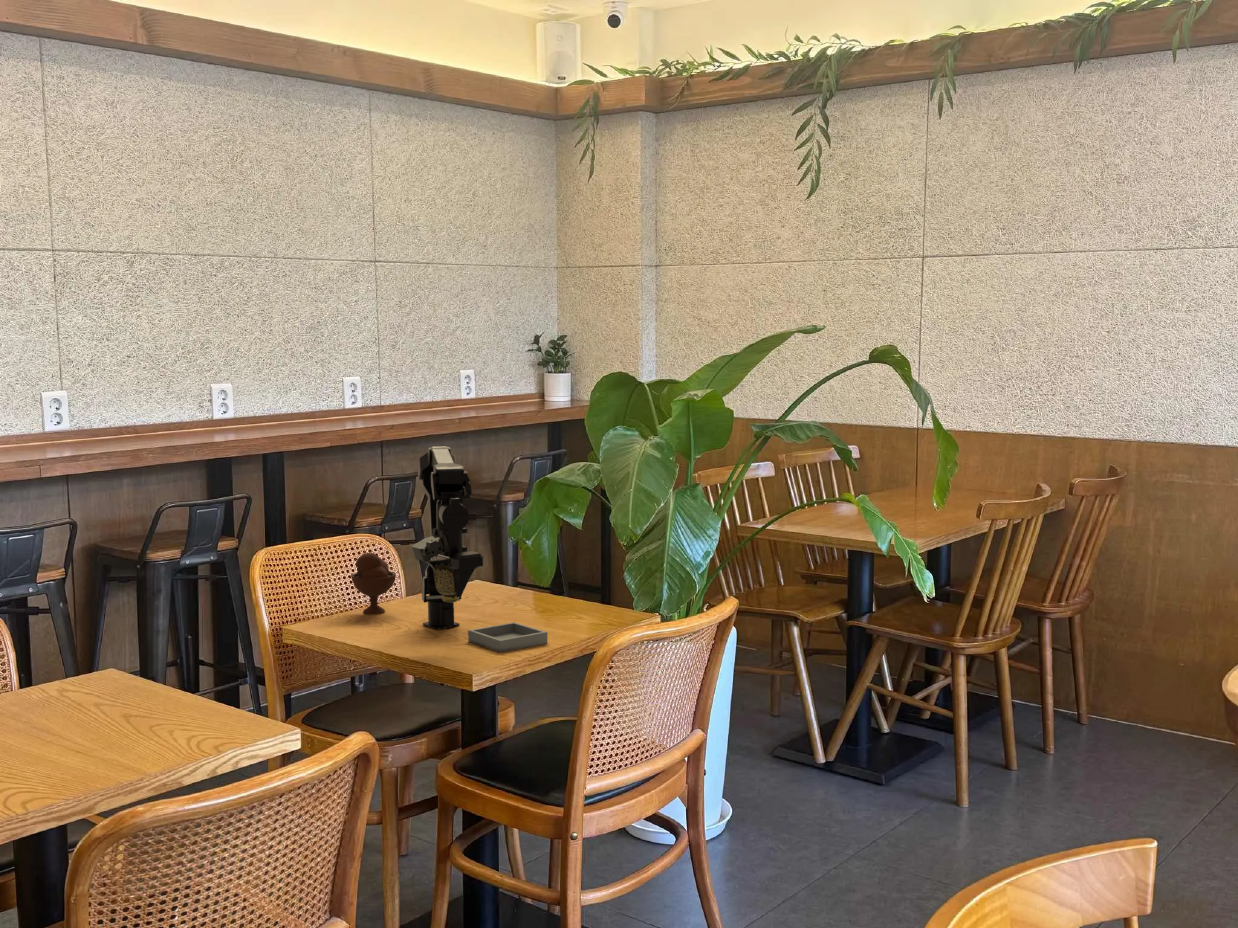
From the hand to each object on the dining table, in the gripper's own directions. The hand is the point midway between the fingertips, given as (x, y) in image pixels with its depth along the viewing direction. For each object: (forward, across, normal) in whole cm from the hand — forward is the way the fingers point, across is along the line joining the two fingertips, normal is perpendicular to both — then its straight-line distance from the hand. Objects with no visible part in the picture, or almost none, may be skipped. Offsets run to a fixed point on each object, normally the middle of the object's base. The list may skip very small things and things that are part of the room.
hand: (450, 594), depth 269 cm
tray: (+11, +5, +11) cm, 17 cm away
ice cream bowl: (+12, -40, +2) cm, 42 cm away
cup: (+2, 0, 0) cm, 2 cm away
